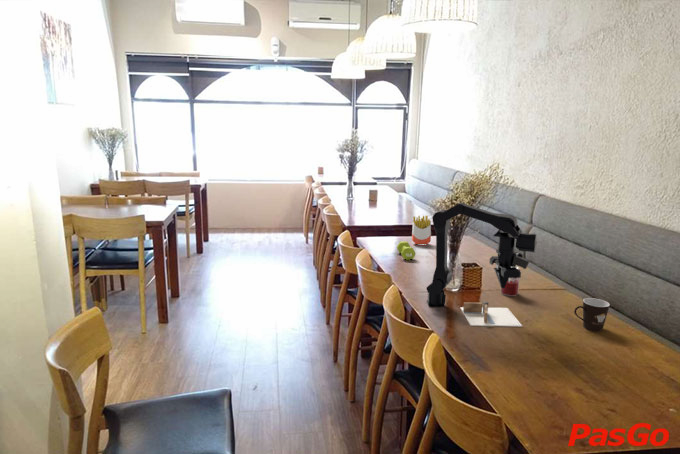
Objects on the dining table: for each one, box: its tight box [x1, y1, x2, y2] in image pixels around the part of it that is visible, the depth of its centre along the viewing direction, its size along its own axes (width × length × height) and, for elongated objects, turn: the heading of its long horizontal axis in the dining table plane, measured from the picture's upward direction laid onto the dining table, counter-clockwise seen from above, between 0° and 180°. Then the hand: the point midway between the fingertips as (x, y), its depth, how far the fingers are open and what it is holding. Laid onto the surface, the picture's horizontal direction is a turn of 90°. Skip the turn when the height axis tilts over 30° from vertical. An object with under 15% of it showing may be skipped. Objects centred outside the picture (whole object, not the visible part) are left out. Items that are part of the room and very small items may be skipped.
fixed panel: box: [463, 301, 489, 313], centre depth 183 cm, size 9×2×5 cm, turn 88°
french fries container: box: [411, 215, 432, 245], centre depth 286 cm, size 5×11×18 cm, turn 91°
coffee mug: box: [573, 297, 611, 333], centre depth 171 cm, size 12×9×10 cm
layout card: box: [459, 306, 523, 328], centre depth 181 cm, size 19×17×1 cm
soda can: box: [500, 266, 521, 297], centre depth 204 cm, size 7×7×12 cm
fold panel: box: [484, 304, 488, 323], centre depth 178 cm, size 9×1×4 cm, turn 163°
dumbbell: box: [396, 240, 416, 261], centre depth 262 cm, size 16×8×7 cm, turn 4°
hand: (502, 288), depth 178 cm, fingers closed
